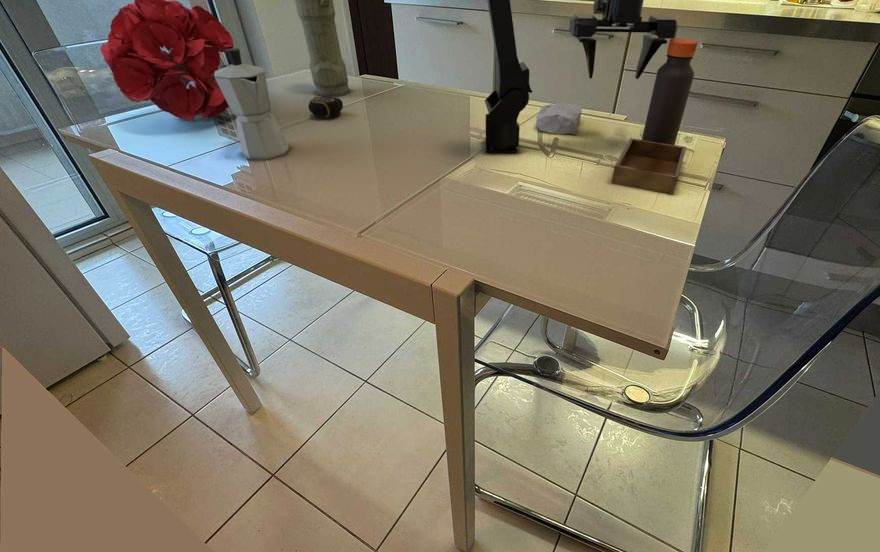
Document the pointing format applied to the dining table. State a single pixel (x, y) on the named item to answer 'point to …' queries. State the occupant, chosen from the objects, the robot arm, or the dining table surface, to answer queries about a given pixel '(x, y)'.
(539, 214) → the dining table surface
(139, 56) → the bouquet
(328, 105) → the tape measure
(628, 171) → the tray
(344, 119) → the dining table surface
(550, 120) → the stone block
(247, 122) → the coffee maker
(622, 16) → the robot arm
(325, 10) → the greenish beige column
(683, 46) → the vinegar
